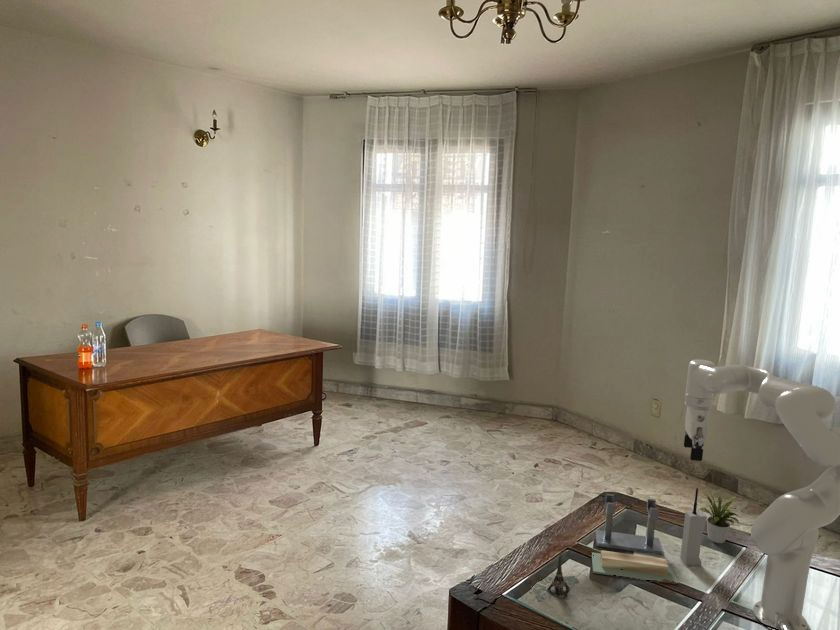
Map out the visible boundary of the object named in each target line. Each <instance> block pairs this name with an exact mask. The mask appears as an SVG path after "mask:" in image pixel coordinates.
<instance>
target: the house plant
mask: <svg viewBox="0 0 840 630" xmlns="http://www.w3.org/2000/svg"><path fill="white" fill-rule="evenodd" d="M693 494H694V495H695V494H696V492H695V493H693ZM724 494H725V493H724V492H723V493H722V494H720V493H718V498H717V503H718V505H717V503H716V501H715V499H714V497H713V495H712V494H710V493H708V492H707V493H704V495H705V498H707V499H705V500H706V502H708V501H709V502H708V503H709V504H708V505H706V506H705V507H701V508H700V509H699V511H703V513H707V514H709V516H707V520H706V529H707V538H708V540H709V541H710V542H713V543H715V544H725V542H726V540H727V537H728V533H729V530H730V527H731V524H733V525H735V521H736V523H738V524H739V523H740V521H739V520H738V519H737V517H739V518H740V519H742V517H741V516H739V514H737V513H735V512H733V510H734V509H735V508H737V507H740V505H735V506H732V507H730V506H731V505H732V504H733V502H734V500H735V499H736V498H737V495H735V496H732V497H731V498H729V499H728V500H727V501H725V502H724V503H723V504H722V501H723V497H724ZM709 495H710V496H709ZM698 496H701V497H703V498H704V496H703V495H701V494H699V493H698ZM711 498H712V499H711ZM707 506H708V507H709V509H710V510H709V509H707V508H706V507H707ZM729 507H730V508H729ZM710 511H711V512H710ZM733 516H737V517H733Z"/></svg>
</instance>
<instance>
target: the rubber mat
mask: <svg viewBox="0 0 840 630" xmlns="http://www.w3.org/2000/svg"><path fill="white" fill-rule="evenodd" d="M591 553H592V555H591V562H592V563H591V565H592V573H594V574H599V575H604V576H605V575H606V576H612V577H614V576H613V575H616V576H615V577H618V578H619V576H625V577H630V578H629V579H632V578H635V579H634V580H639V579H640V581H646V580H657V581H662V580H663V579H667V580H670V581H674V582H676V583H678V584H679V581H678V579H677V576H676V575H677V574H676V573H675V569H674V565H673V563H671V562H667V564H668V575H667V576H665V575H658V574H651V573H644V572H637V571H630V570H621V569H615V568H608V567H601V560H600V558H601V552H594V551H593V552H591ZM593 555H594V556H593ZM625 577H624V578H625Z"/></svg>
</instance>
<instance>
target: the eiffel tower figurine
mask: <svg viewBox="0 0 840 630" xmlns="http://www.w3.org/2000/svg"><path fill="white" fill-rule="evenodd" d="M562 555H563V554H562V551H560V552H559V553H558V564H557V565H558V566H557V569H556V570H557V571H556V573H555V576H553V577H544V578H545V579H543V580H542V581H539V582H537V583H536V584H535V585H534V586H533V587H532V586H531V589H532V590H533V592H534V595H535V596H536V598H537V600H538V601H539V602H545V601H546V599H545V597H546V594H547V593H549V594H552V595H553V596H556V597H558V598H561V599H562V600H563V599H565V598H569V596H568V594H569V593H570V591H571V590H572V588H571V587H574V586H577V584H579V583H580V581H579V579H578V578H577V576H576V575H568V576H564V575H563V570H562V568H563V567H562ZM569 586H570V587H569Z"/></svg>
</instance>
